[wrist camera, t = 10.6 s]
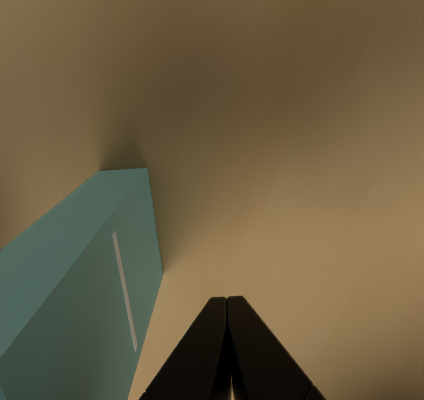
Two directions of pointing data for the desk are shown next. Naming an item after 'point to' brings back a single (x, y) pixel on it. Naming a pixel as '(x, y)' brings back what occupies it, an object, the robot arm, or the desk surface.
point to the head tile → (80, 293)
